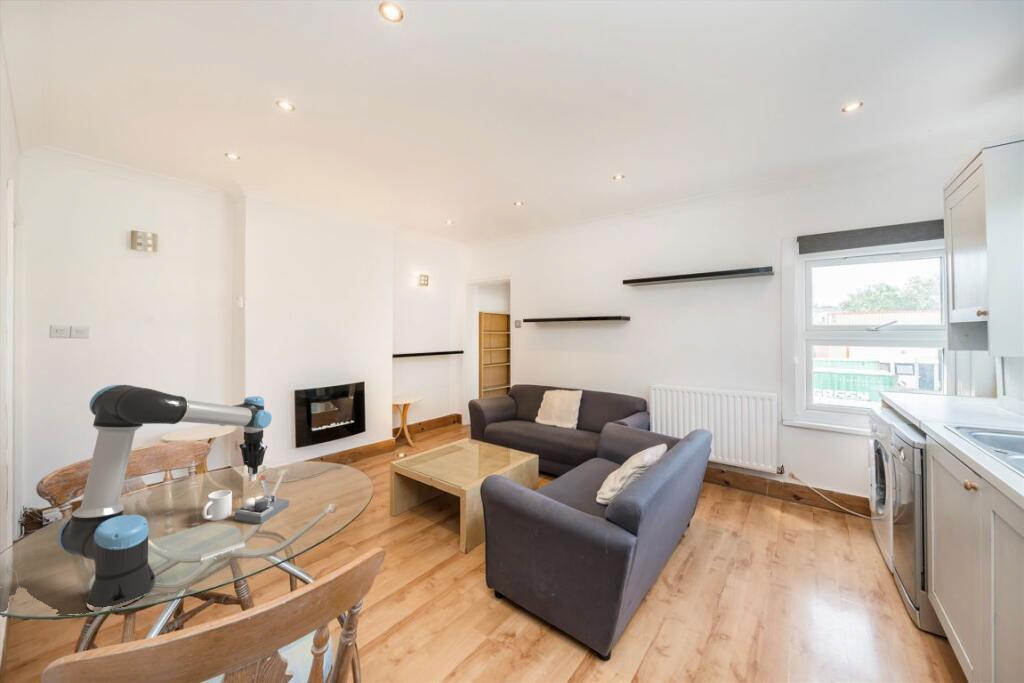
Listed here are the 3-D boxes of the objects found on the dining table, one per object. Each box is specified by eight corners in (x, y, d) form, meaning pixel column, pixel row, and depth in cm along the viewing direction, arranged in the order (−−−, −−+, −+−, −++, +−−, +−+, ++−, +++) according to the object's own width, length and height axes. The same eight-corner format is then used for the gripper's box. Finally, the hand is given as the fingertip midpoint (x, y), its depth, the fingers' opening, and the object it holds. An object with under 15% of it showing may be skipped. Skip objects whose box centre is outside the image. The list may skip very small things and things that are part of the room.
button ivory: (248, 509, 164) (249, 502, 164) (240, 508, 165) (240, 501, 164) (257, 504, 168) (257, 498, 168) (248, 503, 169) (248, 496, 169)
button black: (260, 514, 163) (260, 507, 163) (252, 512, 164) (252, 505, 163) (269, 509, 167) (269, 502, 167) (260, 507, 168) (260, 501, 168)
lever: (270, 502, 173) (260, 476, 173) (267, 503, 173) (258, 477, 173) (273, 500, 174) (264, 475, 175) (271, 501, 175) (261, 476, 175)
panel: (260, 524, 162) (261, 510, 161) (234, 519, 164) (235, 506, 163) (288, 506, 177) (289, 494, 177) (264, 502, 180) (265, 490, 179)
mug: (210, 527, 157) (211, 503, 156) (194, 524, 158) (194, 500, 158) (236, 513, 169) (236, 490, 168) (220, 510, 170) (220, 488, 170)
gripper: (272, 429, 176) (271, 478, 177) (248, 426, 178) (247, 475, 180) (259, 434, 169) (258, 485, 170) (234, 431, 171) (233, 481, 172)
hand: (252, 480), depth 175 cm, fingers closed
